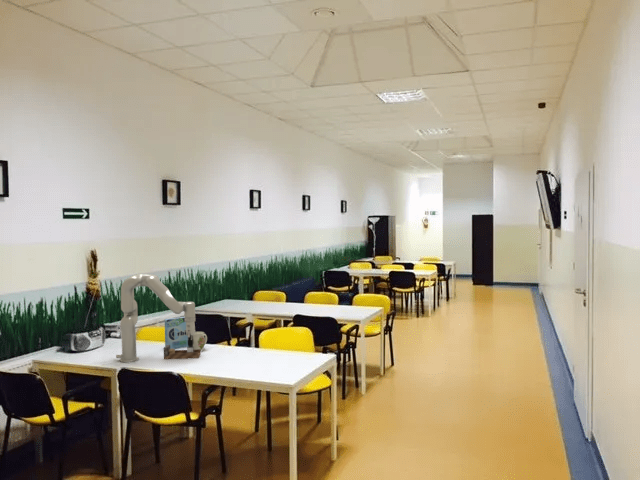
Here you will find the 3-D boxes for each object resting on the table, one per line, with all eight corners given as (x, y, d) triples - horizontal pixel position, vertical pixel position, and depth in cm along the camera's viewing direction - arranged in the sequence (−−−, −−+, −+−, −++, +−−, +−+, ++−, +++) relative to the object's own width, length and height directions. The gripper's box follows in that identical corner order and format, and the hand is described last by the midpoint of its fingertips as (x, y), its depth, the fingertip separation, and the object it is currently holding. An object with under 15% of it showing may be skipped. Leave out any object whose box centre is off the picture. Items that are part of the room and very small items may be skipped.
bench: (163, 359, 385) (163, 348, 384) (167, 356, 395) (166, 344, 394) (198, 358, 386) (198, 347, 386) (200, 354, 396) (200, 343, 396)
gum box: (167, 350, 413) (166, 320, 412) (164, 349, 417) (164, 319, 416) (191, 346, 425) (190, 316, 424) (189, 345, 429) (188, 316, 428)
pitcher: (212, 348, 415) (211, 330, 415) (195, 353, 400) (194, 334, 400) (201, 347, 421) (201, 329, 421) (184, 352, 406) (183, 333, 405)
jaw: (187, 354, 387) (186, 336, 386) (189, 352, 394) (188, 334, 393) (192, 354, 387) (192, 336, 387) (194, 352, 394) (194, 334, 394)
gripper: (193, 321, 382) (193, 347, 382) (197, 317, 398) (197, 342, 399) (182, 321, 381) (183, 347, 382) (186, 317, 398) (187, 342, 398)
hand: (190, 344), depth 390 cm, fingers closed on jaw, 3 cm apart
